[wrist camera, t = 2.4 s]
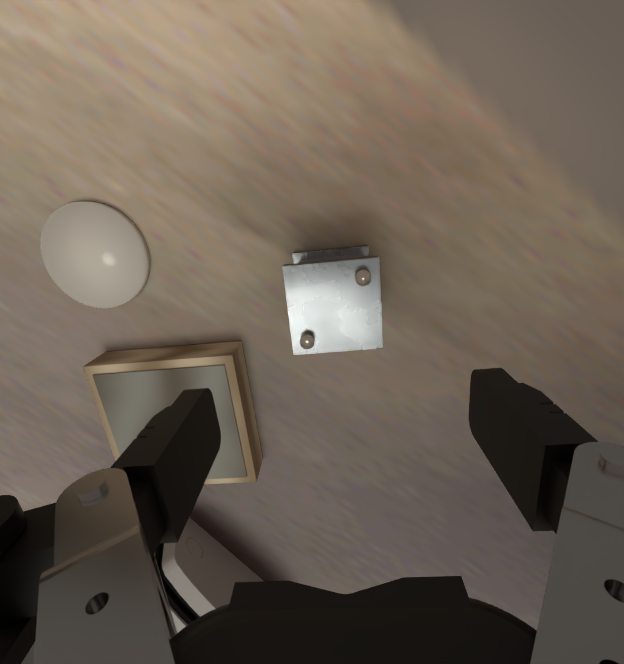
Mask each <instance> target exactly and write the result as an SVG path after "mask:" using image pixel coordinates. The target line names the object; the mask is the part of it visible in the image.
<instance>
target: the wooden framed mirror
mask: <svg viewBox="0 0 624 664" xmlns="http://www.w3.org/2000/svg"><path fill="white" fill-rule="evenodd" d="M83 369H84V372H85V375H86V378H87V381H88V383H89V386H90V389H91V392H92V395H93V398H94V401H95V403H96V406H97V409H98V412H99V415H100V418H101V420H102V423H103V426H104V429H105V432H106V435H107V438H108V440H109V443H110V446H111V449H112V452H113V455H114V458H115V460H117V459H118V458H119V457H120V456H121V454H122V453H123V452H124V451H125V450H126V448H127V447H128V446H129V445H130V444H131V442H132V441H133V440H134V439H136V438H137V435H138V434H139V433H140V432H141V430H142V429H144V427H145V426H146V424H147V423H148V422H149V421H150V420H151V418H152V417H153V416H154V415H156V414H157V413H159V412H160V411H162V410H163V409H164V408H166V407H167V406H171V405H172V404H173V403H174V401H175V400H176V399H177V398H178V396H179V395H180V394H181V393H182V391H183V390H186V389H200V388H209V389H210V390H211V392H212V395H213V399H214V403H215V408H216V412H217V417H218V421H219V426H220V430H221V444H220V449H219V452H218V454H217V456H216V458H215V461H214V463H213V465H212V467H211V469H210V472H209V474H208V476H207V478H206V481H205V483H204V484H219V483H240V482H257V478H258V475H259V471H260V467H261V463H262V459H263V457H262V451H261V446H260V440H259V435H258V429H257V424H256V418H255V413H254V407H253V402H252V396H251V391H250V385H249V380H248V374H247V368H246V363H245V357H244V352H243V346H242V341H235V342H222V343H210V344H198V345H185V346H173V347H160V348H148V349H135V350H123V351H110V352H105V353H103V354H102V355H100V356H99V357H97V358H95V359H94V360H92V361H91V362H89V363H88V364H86V365H85V366H83Z"/></svg>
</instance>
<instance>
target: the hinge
mask: <svg viewBox="0 0 624 664" xmlns="http://www.w3.org/2000/svg"><path fill="white" fill-rule="evenodd" d="M154 555H155V558H156V561H157V564H158V568H159V571H160V575H161V578H162V582H163V585H164V589H165V592H166V596H167V599H168V602H169V606H170V609H171V613H172V616H173V620H174V623H175V626H176V630H177V633H178V632H179V631H181V630H182V629H183V628H184V627H186V626H187V625H189V624H190V623H191V622H193V621H194V620H196V619H197V618H199V617H201V616H202V615H204V614H206V613H208V612H209V611H212V610H214V609H216V608H218V607H221V606H223V605H226V604H229V603H230V600H231V596H232V592H233V588H234V584H235V582H261V581H263V580H262V579H261V578H260V577H259V576H258V575H256V574H255V573H254V572H253V571H252V570H251V569H249V568H248V567H247V566H246V565H245V564H243V563H242V562H241V561H240V560H239V559H238V558H236V557H235V556H234V555H233V554H232V553H231V552H229V551H228V550H227V549H226V548H225V547H224V546H222V545H221V544H220V543H219V542H218V541H216V540H215V539H214V538H213V537H212V536H211V535H209V534H208V533H207V532H206V531H205V530H204V529H202V528H201V527H200V526H199V525H198V524H197V523H195V522H194V521H193V520H192V519H191V518H190V517H189V519H188V521H187V523H186V525H185V527H184V530H183V532H182V534H181V536H180V539H179V541H178V543H159V545H158V547H157V549H156V551H155V553H154Z"/></svg>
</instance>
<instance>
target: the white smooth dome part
mask: <svg viewBox="0 0 624 664" xmlns="http://www.w3.org/2000/svg"><path fill="white" fill-rule="evenodd" d="M40 244H41V254H42V258H43V261H44V264H45V267H46V269H47V271H48V273H49V275H50V276H51V278H52V279H53V281H54V282H55V283H56V284H57V285H58V287H59V288H60V289H61V290H62V291H63V292H65V293H66V294H67V295H68V296H70V297H71V298H73V299H74V300H76V301H78V302H80V303H82V304H85V305H88V306H91V307H96V308H111V307H116V306H119V305H122V304H124V303H126V302H128V301H130V300H132V299H133V298H135V297H136V296H137V295H138V294H139V293H140V292H141V291H142V290H143V288H144V287H145V285H146V283H147V281H148V278H149V274H150V255H149V250H148V247H147V244H146V242H145V239H144V237H143V236H142V234H141V232H140V231H139V229H138V228H137V227H136V225H135V224H134V223H133V222H132V221H131V220H130V219H129V218H128V217H127V216H126V215H124V214H123V213H121V212H120V211H118V210H117V209H115V208H113V207H111V206H108V205H106V204H102V203H98V202H73V203H68V204H66V205H63V206H61V207H59V208H58V209H56V210H55V211H54V212H53V213H52V214H51V215H50V216H49V217H48V219H47V221H46V222H45V224H44V227H43V229H42V233H41V241H40Z"/></svg>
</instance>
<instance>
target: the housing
mask: <svg viewBox="0 0 624 664" xmlns="http://www.w3.org/2000/svg"><path fill="white" fill-rule="evenodd" d="M292 255H293V263H294V264H284V265H283V266H282V268H283V276H284V284H285V292H286V299H287V307H288V315H289V323H290V330H291V338H292V346H293V354H294V355H299V354H312V353H325V352H339V351H352V350H365V349H378V348H383V342H382V315H381V289H380V262H379V257H378V256H369V252H368V246H367V245H364V246H354V247H344V248H334V249H324V250H314V251H303V252H293V254H292Z"/></svg>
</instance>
